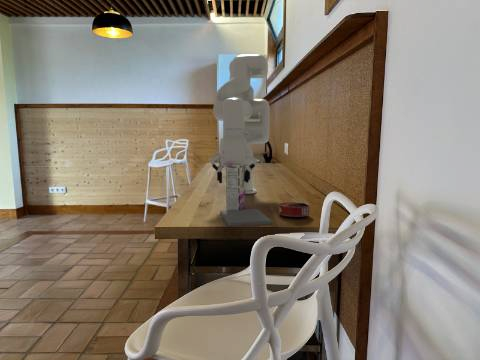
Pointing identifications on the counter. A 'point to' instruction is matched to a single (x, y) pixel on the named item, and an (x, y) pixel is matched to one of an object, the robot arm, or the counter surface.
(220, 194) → the counter surface
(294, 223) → the counter surface
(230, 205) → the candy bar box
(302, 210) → the canned food
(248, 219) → the mat
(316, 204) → the counter surface
